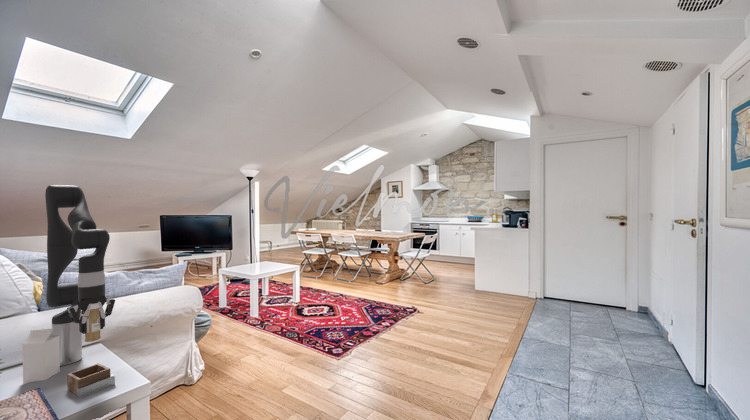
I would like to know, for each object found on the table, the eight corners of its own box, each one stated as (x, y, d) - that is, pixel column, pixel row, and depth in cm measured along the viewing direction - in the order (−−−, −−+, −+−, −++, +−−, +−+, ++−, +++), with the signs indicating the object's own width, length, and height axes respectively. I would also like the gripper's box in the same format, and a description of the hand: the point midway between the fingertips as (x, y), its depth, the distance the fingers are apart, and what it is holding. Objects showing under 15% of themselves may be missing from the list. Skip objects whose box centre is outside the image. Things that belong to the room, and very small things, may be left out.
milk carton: (45, 383, 122) (44, 332, 122) (22, 385, 121) (22, 333, 121) (60, 373, 129) (59, 325, 129) (39, 375, 128) (38, 326, 128)
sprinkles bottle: (100, 340, 119) (99, 303, 119) (83, 343, 116) (82, 305, 116) (101, 336, 123) (101, 300, 123) (85, 339, 120) (84, 302, 120)
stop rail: (76, 397, 110) (76, 387, 110) (112, 383, 119) (112, 374, 119) (79, 399, 109) (79, 389, 109) (114, 385, 118) (114, 375, 118)
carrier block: (67, 389, 115) (67, 374, 115) (98, 378, 123) (98, 363, 123) (78, 396, 111) (78, 380, 111) (110, 383, 118) (110, 368, 118)
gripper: (71, 289, 112) (71, 339, 111) (119, 281, 124) (120, 326, 124) (61, 287, 115) (62, 336, 115) (109, 279, 128) (110, 323, 128)
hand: (92, 330), depth 120 cm, fingers closed on sprinkles bottle, 4 cm apart
